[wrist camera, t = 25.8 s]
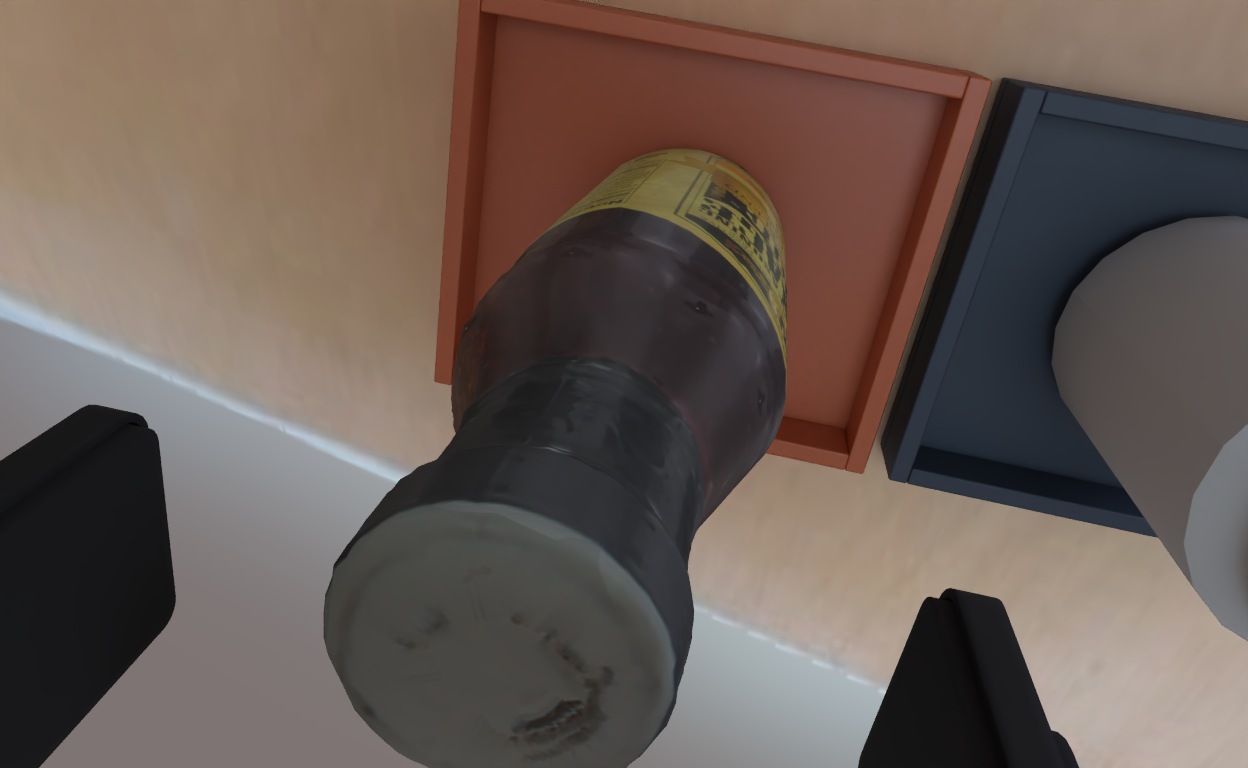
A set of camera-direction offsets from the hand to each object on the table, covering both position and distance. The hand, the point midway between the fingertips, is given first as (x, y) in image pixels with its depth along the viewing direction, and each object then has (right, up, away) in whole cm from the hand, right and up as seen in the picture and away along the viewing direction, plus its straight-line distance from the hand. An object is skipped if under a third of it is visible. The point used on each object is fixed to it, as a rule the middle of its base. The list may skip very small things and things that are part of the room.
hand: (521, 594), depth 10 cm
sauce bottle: (+3, +7, +17) cm, 19 cm away
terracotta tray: (+3, +8, +17) cm, 19 cm away
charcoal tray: (+18, +4, +16) cm, 25 cm away
